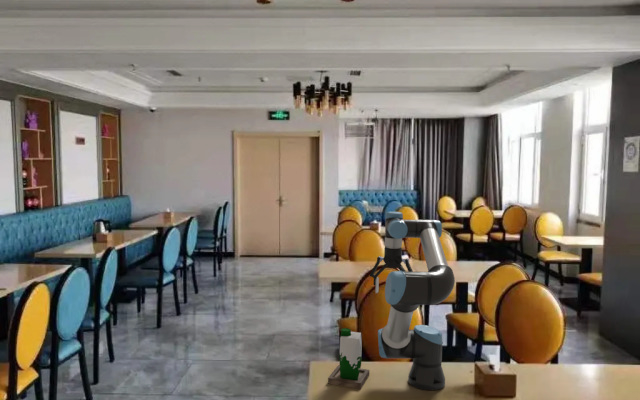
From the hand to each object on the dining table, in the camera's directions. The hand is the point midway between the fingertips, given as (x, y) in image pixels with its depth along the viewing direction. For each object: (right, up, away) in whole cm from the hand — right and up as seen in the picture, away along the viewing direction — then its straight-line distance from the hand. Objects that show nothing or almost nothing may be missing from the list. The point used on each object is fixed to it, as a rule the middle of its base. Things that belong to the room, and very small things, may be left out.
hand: (391, 294), depth 235 cm
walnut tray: (-20, -34, -12) cm, 41 cm away
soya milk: (-19, -33, -13) cm, 40 cm away
